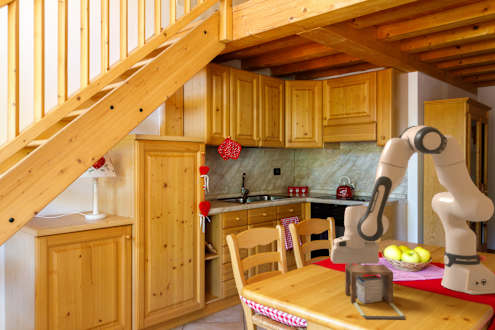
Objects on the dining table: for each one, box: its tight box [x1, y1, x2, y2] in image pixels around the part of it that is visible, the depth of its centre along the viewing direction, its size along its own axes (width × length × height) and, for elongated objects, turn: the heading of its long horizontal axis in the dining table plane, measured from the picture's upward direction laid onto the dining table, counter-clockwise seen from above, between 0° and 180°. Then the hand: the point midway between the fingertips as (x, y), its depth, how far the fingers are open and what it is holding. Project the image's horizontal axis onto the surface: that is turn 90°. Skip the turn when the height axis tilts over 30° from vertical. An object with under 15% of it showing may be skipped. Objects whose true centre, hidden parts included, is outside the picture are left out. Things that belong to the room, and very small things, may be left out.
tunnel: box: [344, 264, 394, 305], centre depth 144 cm, size 15×10×12 cm, turn 89°
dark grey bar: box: [363, 315, 406, 320], centre depth 126 cm, size 13×2×1 cm, turn 89°
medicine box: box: [357, 275, 383, 304], centre depth 141 cm, size 8×4×9 cm, turn 108°
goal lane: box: [353, 302, 406, 318], centre depth 132 cm, size 14×11×1 cm
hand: (354, 273), depth 164 cm, fingers closed
